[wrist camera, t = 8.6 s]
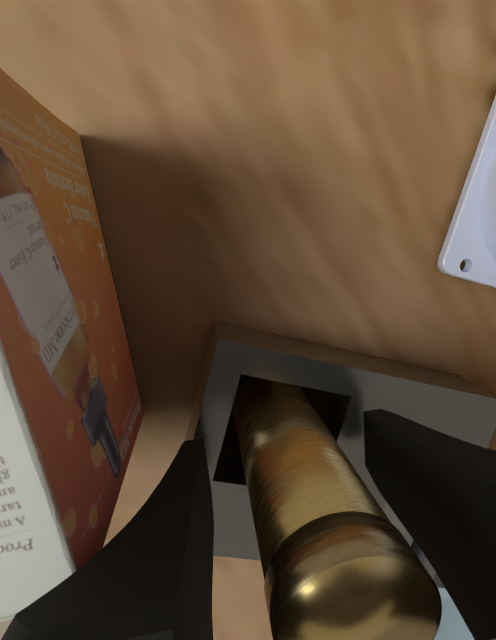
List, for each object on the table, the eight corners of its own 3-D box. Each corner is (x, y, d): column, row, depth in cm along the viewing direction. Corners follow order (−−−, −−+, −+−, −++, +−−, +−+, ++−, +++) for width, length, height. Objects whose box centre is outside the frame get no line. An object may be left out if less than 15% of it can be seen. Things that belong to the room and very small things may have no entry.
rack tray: (540, 556, 19) (589, 603, 17) (484, 675, 21) (522, 734, 18) (405, 539, 18) (438, 587, 15) (355, 668, 19) (378, 731, 17)
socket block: (458, 375, 16) (506, 401, 14) (399, 529, 17) (433, 578, 15) (214, 321, 14) (218, 338, 12) (170, 499, 16) (165, 550, 13)
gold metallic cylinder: (313, 377, 15) (466, 563, 6) (293, 444, 16) (409, 699, 7) (241, 363, 15) (302, 544, 6) (223, 432, 15) (254, 692, 6)
